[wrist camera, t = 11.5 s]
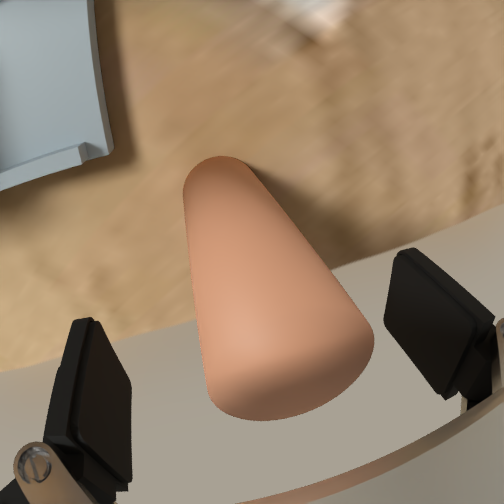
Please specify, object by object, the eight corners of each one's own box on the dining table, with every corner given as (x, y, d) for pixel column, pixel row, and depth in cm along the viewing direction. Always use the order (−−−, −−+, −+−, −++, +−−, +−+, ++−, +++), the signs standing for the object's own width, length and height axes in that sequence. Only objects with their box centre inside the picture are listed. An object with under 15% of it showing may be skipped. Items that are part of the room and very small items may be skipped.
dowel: (253, 150, 16) (387, 285, 6) (260, 219, 18) (360, 394, 8) (176, 163, 16) (188, 333, 6) (190, 232, 18) (223, 432, 8)
